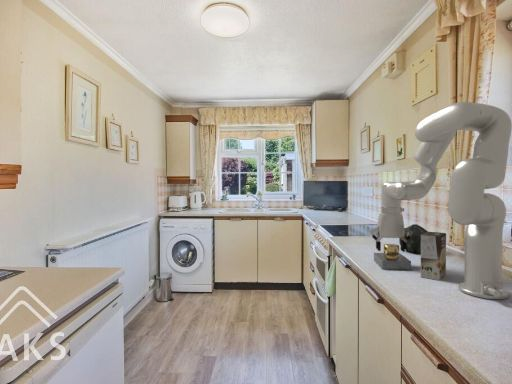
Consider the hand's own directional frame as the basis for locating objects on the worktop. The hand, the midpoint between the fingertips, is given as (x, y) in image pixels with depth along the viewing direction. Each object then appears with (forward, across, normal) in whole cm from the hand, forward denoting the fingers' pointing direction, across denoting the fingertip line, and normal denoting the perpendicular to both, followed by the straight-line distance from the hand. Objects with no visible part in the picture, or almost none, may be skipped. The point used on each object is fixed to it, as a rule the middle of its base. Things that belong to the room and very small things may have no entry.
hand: (390, 250), depth 128 cm
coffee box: (+6, -11, +14) cm, 19 cm away
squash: (+6, -19, -26) cm, 33 cm away
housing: (+6, 0, 0) cm, 6 cm away
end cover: (+6, 0, 0) cm, 6 cm away
